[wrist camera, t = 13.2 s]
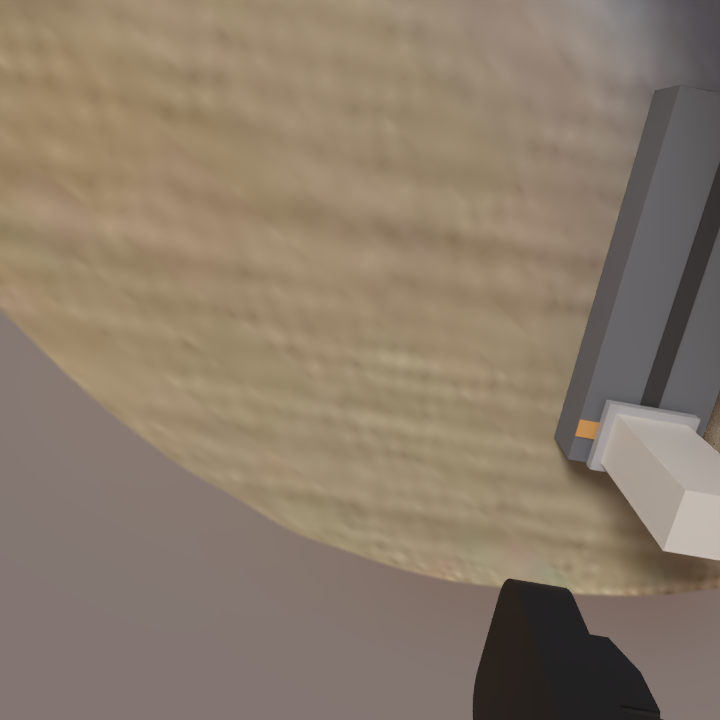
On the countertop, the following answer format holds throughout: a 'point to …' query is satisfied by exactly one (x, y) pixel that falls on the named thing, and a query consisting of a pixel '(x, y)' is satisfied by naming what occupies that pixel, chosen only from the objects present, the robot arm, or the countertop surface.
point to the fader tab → (663, 474)
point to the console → (657, 279)
